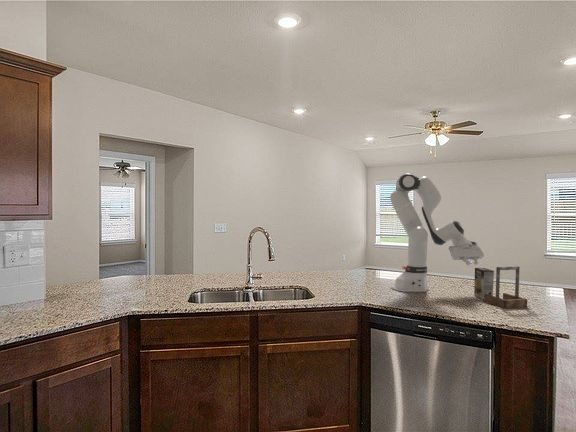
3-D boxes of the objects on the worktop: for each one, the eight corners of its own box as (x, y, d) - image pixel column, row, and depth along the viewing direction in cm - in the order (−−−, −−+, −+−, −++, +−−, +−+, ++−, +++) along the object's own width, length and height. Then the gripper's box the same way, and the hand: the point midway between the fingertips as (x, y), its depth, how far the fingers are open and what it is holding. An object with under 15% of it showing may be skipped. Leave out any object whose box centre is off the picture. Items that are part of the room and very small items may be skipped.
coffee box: (473, 295, 235) (474, 267, 235) (484, 295, 236) (484, 267, 236) (482, 299, 226) (483, 270, 226) (493, 299, 227) (494, 270, 226)
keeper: (505, 308, 207) (506, 269, 206) (483, 301, 221) (484, 264, 221) (527, 307, 210) (528, 268, 209) (504, 300, 225) (505, 264, 224)
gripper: (449, 243, 244) (460, 261, 235) (479, 242, 249) (490, 260, 240) (445, 249, 249) (454, 268, 239) (473, 249, 254) (484, 267, 244)
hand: (472, 264), depth 240 cm, fingers open, 4 cm apart
